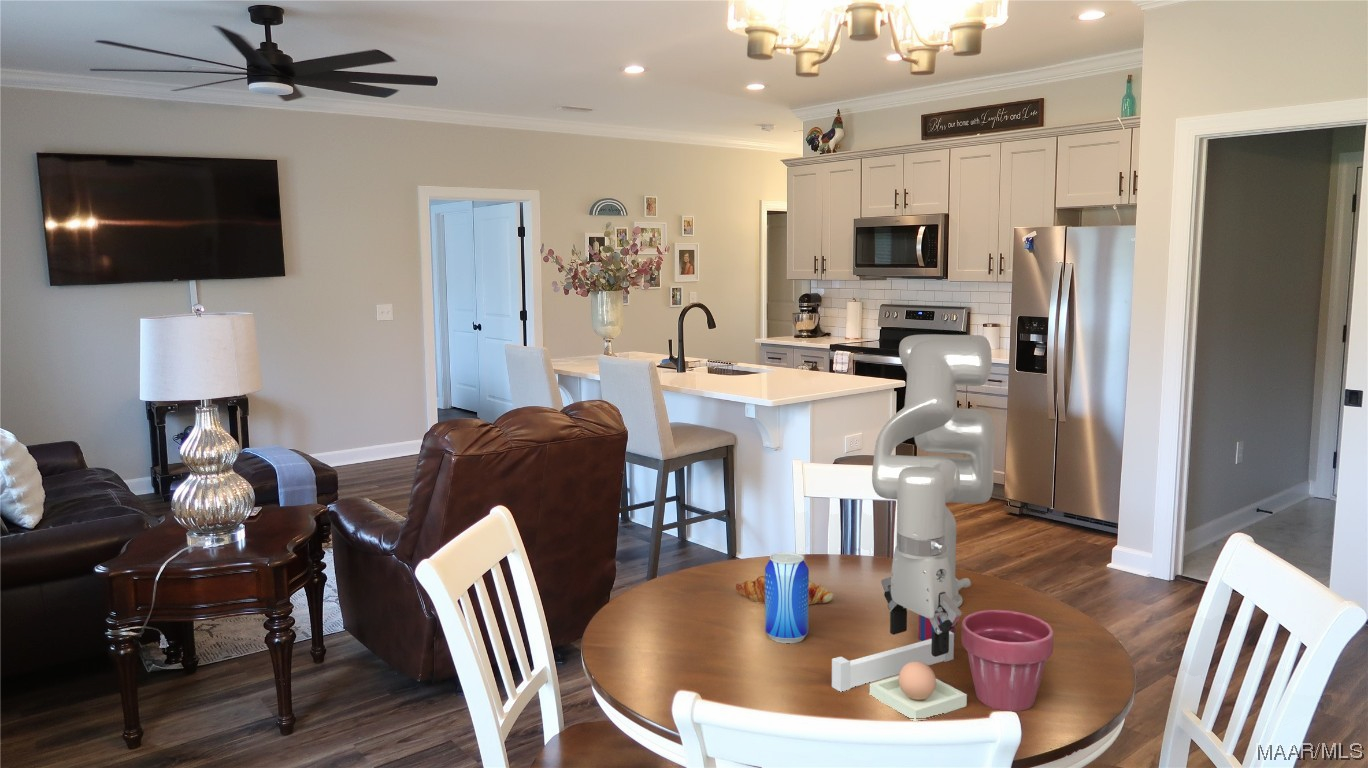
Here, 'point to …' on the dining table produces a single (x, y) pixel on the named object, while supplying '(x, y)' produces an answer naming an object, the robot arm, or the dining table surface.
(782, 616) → the beer can
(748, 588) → the croissant
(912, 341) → the robot arm
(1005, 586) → the dining table surface
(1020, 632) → the plant pot
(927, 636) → the mug
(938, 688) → the square tray
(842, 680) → the rail
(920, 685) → the ball
